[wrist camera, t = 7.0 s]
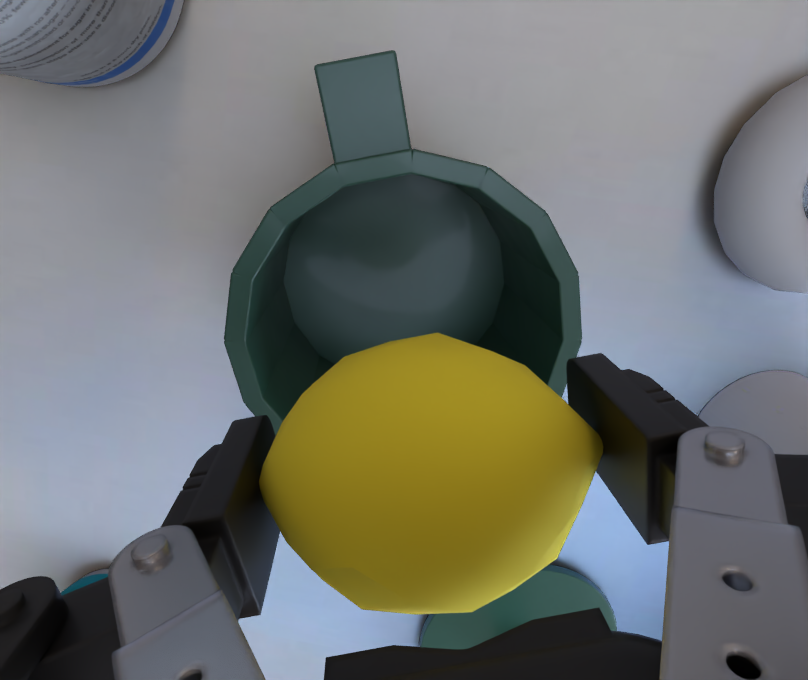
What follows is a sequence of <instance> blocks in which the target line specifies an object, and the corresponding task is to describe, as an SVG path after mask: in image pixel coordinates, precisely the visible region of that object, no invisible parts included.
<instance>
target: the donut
mask: <svg viewBox="0 0 808 680" xmlns="http://www.w3.org/2000/svg"><path fill="white" fill-rule="evenodd" d="M807 179H808V75H806V76H804V77H802V78H801V79H799V80H797V81H796V82H794V83H792V84H790V85H789V86H787V87H785V88H783V89H782V90H780V91H778V92H776V93H775V94H774V95H773V96H772V97H771V98H770V99H769V100H768V101H767V102H766V103H765V104H764V105H763V106H762V107H761V108H760V109H759V110H758V111H757V112H756V113H755V114H754V115H753V116H752V117H751V118H750V119H749V120H748V121H747V122H746V123H745V124H744V125H743V127H742V128H741V130H740V132H739V133H738V135H737V137H736V138H735V140H734V142H733V143H732V145H731V147H730V148H729V150H728V151H727V153H726V155H725V156H724V159H723V163H722V166H721V169H720V173H719V176H718V179H717V182H716V186H715V189H714V223H715V226H716V229H717V232H718V235H719V238H720V241H721V244H722V247H723V249H724V252H725V254H726V255H727V256H728V257H729V258H730V259H731V261H732V262H733V263H734V264H735V265H736V266H737V267H738V269H739V270H740V271H741V272H742V273H743V274H744V275H746V276H747V277H749V278H751V279H753V280H755V281H757V282H759V283H761V284H763V285H765V286H767V287H769V288H771V289H773V290H778V291H787V292H798V293H808V218H807V217H806V215H805V211H804V207H803V192H804V187H805V185H806V182H807Z"/></svg>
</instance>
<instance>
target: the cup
mask: <svg viewBox="0 0 808 680" xmlns="http://www.w3.org/2000/svg"><path fill="white" fill-rule="evenodd" d="M698 417H699V418H700V419H701V420H702V421H704V422H705V423H706V424H707V425H709V426H718V427H728V428H734V429H738V430H742V431H745V432H748V433H750V434H753V435H755V436H757V437H759V438H761V439H762V440H764V441H765V442H766V443H767V444H768V445H769V446H770V447H771V448H772V450H773V452H774V454H792V455H808V378H806V377H805V376H803V375H800V374H798V373H794V372H790V371H783V370H771V371H764V372H759V373H755V374H752V375H749V376H746V377H744V378H741V379H739V380H737V381H735V382H734V383H732V384H730V385H729V386H727V387H726V388H724V389H723V390H722V391H720V392H719V393H718V394H717V395H716V396H714V397H713V398H712V399H711V400H710V401H709V403H708V404H707V405H706V406H705V407H704V409H703V410H702V411H701V413H700V414H699V416H698Z"/></svg>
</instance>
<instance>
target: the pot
mask: <svg viewBox="0 0 808 680" xmlns="http://www.w3.org/2000/svg"><path fill="white" fill-rule="evenodd" d="M314 70H315V74H316V79H317V84H318V88H319V93H320V98H321V103H322V107H323V112H324V117H325V121H326V126H327V131H328V135H329V140H330V145H331V150H332V154H333V159H334V164H332V165H331V166H329V167H328V168H326V169H325V170H323V171H322V172H320V173H319V174H318V175H316V176H315V177H313V178H312V179H310V180H309V181H307V182H306V183H305V184H303V185H302V186H300V187H299V188H297V189H296V190H294V191H293V192H292V193H290V194H289V195H287V196H286V197H284V198H283V199H282V200H280V201H279V202H277V203H276V204H274V205H273V206H271V207H270V209H269V210H268V211H267V213H266V214H265V216H264V218H263V220H262V221H261V223H260V225H259V226H258V228H257V230H256V231H255V233H254V235H253V236H252V238H251V240H250V241H249V243H248V245H247V246H246V248H245V250H244V251H243V253H242V255H241V256H240V258H239V260H238V261H237V263H236V265H235V266H234V268H233V272H232V273H231V279H230V288H229V298H228V307H227V316H226V325H225V335H224V340H225V341H224V344H225V347H226V350H227V353H228V356H229V359H230V362H231V365H232V368H233V371H234V374H235V377H236V380H237V383H238V386H239V389H240V393H241V396H242V399H243V402H244V403H245V404H246V406H247V407H248V408H249V410H250V411H251V412H252V413H253V414H254V415H255V417H256V416H261V415H267V416H268V417H269V419H270V421H271V423H272V426H273V429H274V433H275V436H276V435H277V433H278V430H279V428H280V426H281V424H282V422H283V420H284V419H285V418H286V416H287V415H288V413H289V412H290V411H291V409H292V408H293V406H294V405H295V404H296V402H297V401H298V399H299V398H300V396H301V395H302V394H303V393H304V392H305V391H306V390H307V389H308V388H309V387H310V386H311V385H312V384H313V383H314V382H316V381H317V380H318V379H319V378H320V377H321V376H323V375H324V374H325V373H326V372H327V371H328V370H329V369H331V368H332V367H333V366H334V365H335V364H336V363H338V362H339V361H340V360H341V359H342V358H343V357H345V356H348V355H351V354H354V353H357V352H360V351H363V350H366V349H369V348H372V347H375V346H378V345H381V344H384V343H387V342H390V341H395V340H400V339H406V338H411V337H416V336H422V335H427V334H433V333H440V334H443V335H446V336H449V337H452V338H455V339H458V340H461V341H464V342H467V343H469V344H472V345H475V346H478V347H481V348H484V349H487V350H490V351H493V352H495V353H497V354H500V355H502V356H504V357H507V358H509V359H511V360H514V361H516V362H518V363H521V364H523V365H525V366H526V367H528V368H529V369H530V370H531V371H532V372H533V373H534V374H535V375H536V376H538V377H539V378H540V379H541V380H542V381H543V382H544V383H545V384H546V385H548V386H549V387H550V388H551V389H552V390H553V391H554V392H555V393H556V394H558V395H559V396H560V397H561V398H562V395H563V392H564V389H565V387H566V384H567V373H566V365H567V361H568V360H569V359H572V358H576V356H577V353H578V351H579V348H580V345H581V340H582V329H581V310H580V291H579V276H578V271H577V269H576V268H575V266H574V264H573V262H572V260H571V258H570V256H569V254H568V252H567V250H566V248H565V246H564V244H563V242H562V240H561V238H560V237H559V235H558V233H557V231H556V229H555V227H554V225H553V223H552V221H551V219H550V217H549V215H548V214H547V213H546V211H545V210H543V209H542V208H541V207H540V206H538V205H537V204H536V203H534V202H533V201H532V200H531V199H529V198H528V197H527V196H525V195H524V194H523V193H522V192H520V191H519V190H518V189H516V188H515V187H514V186H513V185H511V184H510V183H509V182H507V181H506V180H505V179H504V178H502V177H501V176H500V175H498V174H497V173H496V172H495V171H493V170H492V169H491V168H488V167H487V166H484V165H479V164H475V163H471V162H467V161H463V160H458V159H454V158H450V157H446V156H442V155H437V154H433V153H429V152H425V151H421V150H416V149H411V144H410V137H409V131H408V125H407V119H406V112H405V106H404V100H403V94H402V87H401V81H400V75H399V69H398V62H397V56H396V52H395V51H393V50H391V51H386V52H380V53H375V54H370V55H365V56H359V57H354V58H349V59H343V60H338V61H333V62H328V63H322V64H317V65H315V67H314Z"/></svg>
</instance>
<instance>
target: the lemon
mask: <svg viewBox="0 0 808 680" xmlns="http://www.w3.org/2000/svg"><path fill="white" fill-rule="evenodd" d="M602 454H603V443H602V440H601V438H600V436H599V434H598V433H597V432H596V431H595V430H594V429H593V428H592V427H591V426H590V425H589V424H588V423H587V422H586V421H585V420H584V419H583V418H581V417H580V416H579V415H578V414H577V413H576V412H575V411H574V410H573V409H572V408H571V407H570V406H569V405H568V404H567V403H566V402H565V401H564V400H563V399H562V398H561V397H560V396H559V395H558V394H556V393H555V392H554V391H553V390H552V389H551V388H550V387H549V386H548V385H546V384H545V383H544V382H543V381H542V380H541V379H540V378H539V377H538V376H536V375H535V374H534V373H533V372H532V371H531V370H530V369H529V368H528V367H526V366H525V365H523V364H521V363H518V362H516V361H514V360H511V359H509V358H507V357H504V356H502V355H500V354H497V353H495V352H493V351H490V350H487V349H484V348H481V347H478V346H475V345H472V344H469V343H467V342H464V341H461V340H458V339H455V338H452V337H449V336H446V335H443V334H440V333H433V334H427V335H422V336H416V337H411V338H406V339H400V340H395V341H390V342H387V343H384V344H381V345H378V346H375V347H372V348H369V349H366V350H363V351H360V352H357V353H354V354H351V355H348V356H345V357H343V358H342V359H341V360H340V361H339V362H338V363H336V364H335V365H334V366H333V367H332V368H331V369H329V370H328V371H327V372H326V373H325V374H324V375H323V376H321V377H320V378H319V379H318V380H317V381H316V382H314V383H313V384H312V385H311V386H310V387H309V388H308V389H307V390H306V391H305V392H304V393H303V394H302V395H301V396H300V398H299V399H298V401H297V402H296V404H295V405H294V406H293V408H292V409H291V411H290V412H289V413H288V415H287V416H286V418H285V419H284V420H283V422H282V424H281V426H280V428H279V430H278V433H277V435H276V437H275V439H274V441H273V444H272V446H271V448H270V450H269V452H268V455H267V457H266V459H265V461H264V463H263V466H262V471H261V475H260V479H259V486H260V491H261V494H262V497H263V500H264V502H265V504H266V506H267V508H268V509H269V511H270V513H271V515H272V517H273V518H274V520H275V522H276V524H277V526H278V527H279V529H280V531H281V533H282V535H283V537H284V538H285V540H286V542H287V543H288V544H289V545H290V546H291V547H292V549H293V550H294V551H295V552H296V553H297V554H298V555H299V556H300V557H301V559H302V560H303V561H304V562H305V563H306V564H307V565H308V566H309V567H310V568H311V569H312V570H313V571H314V572H315V573H316V574H317V575H318V576H319V577H320V578H321V579H322V580H323V581H325V582H326V583H327V584H329V585H330V586H331V587H333V588H334V589H335V590H337V591H338V592H339V593H341V594H342V595H344V596H345V597H346V598H348V599H349V600H350V601H352V602H353V603H354V604H356V605H357V606H358V607H360V608H361V609H363V610H374V611H384V612H395V613H405V614H440V613H466V612H473V611H475V610H477V609H479V608H480V607H482V606H484V605H486V604H488V603H490V602H492V601H493V600H495V599H497V598H499V597H501V596H503V595H505V594H506V593H508V592H510V591H512V590H514V589H515V588H516V587H518V586H519V585H521V584H522V583H523V582H525V581H526V580H528V579H529V578H530V577H532V576H533V575H535V574H536V573H537V572H539V571H540V570H542V569H543V568H544V567H546V566H547V565H549V564H550V563H551V562H553V561H554V560H556V559H557V558H558V555H559V553H560V551H561V549H562V547H563V545H564V543H565V540H566V538H567V536H568V534H569V532H570V530H571V528H572V525H573V523H574V521H575V519H576V517H577V515H578V512H579V510H580V508H581V506H582V504H583V501H584V499H585V496H586V494H587V491H588V489H589V486H590V484H591V481H592V479H593V476H594V474H595V471H596V469H597V466H598V464H599V461H600V459H601V456H602Z"/></svg>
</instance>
